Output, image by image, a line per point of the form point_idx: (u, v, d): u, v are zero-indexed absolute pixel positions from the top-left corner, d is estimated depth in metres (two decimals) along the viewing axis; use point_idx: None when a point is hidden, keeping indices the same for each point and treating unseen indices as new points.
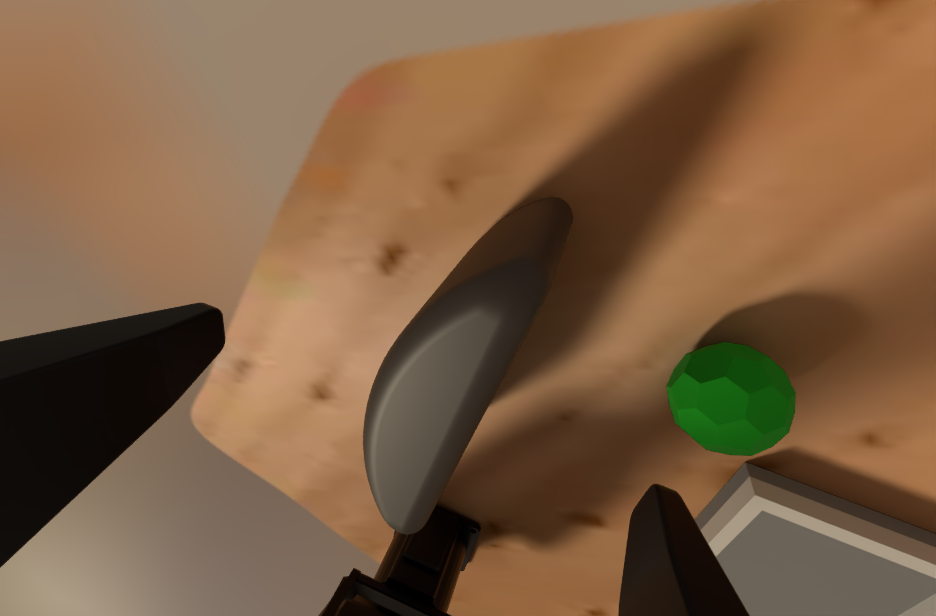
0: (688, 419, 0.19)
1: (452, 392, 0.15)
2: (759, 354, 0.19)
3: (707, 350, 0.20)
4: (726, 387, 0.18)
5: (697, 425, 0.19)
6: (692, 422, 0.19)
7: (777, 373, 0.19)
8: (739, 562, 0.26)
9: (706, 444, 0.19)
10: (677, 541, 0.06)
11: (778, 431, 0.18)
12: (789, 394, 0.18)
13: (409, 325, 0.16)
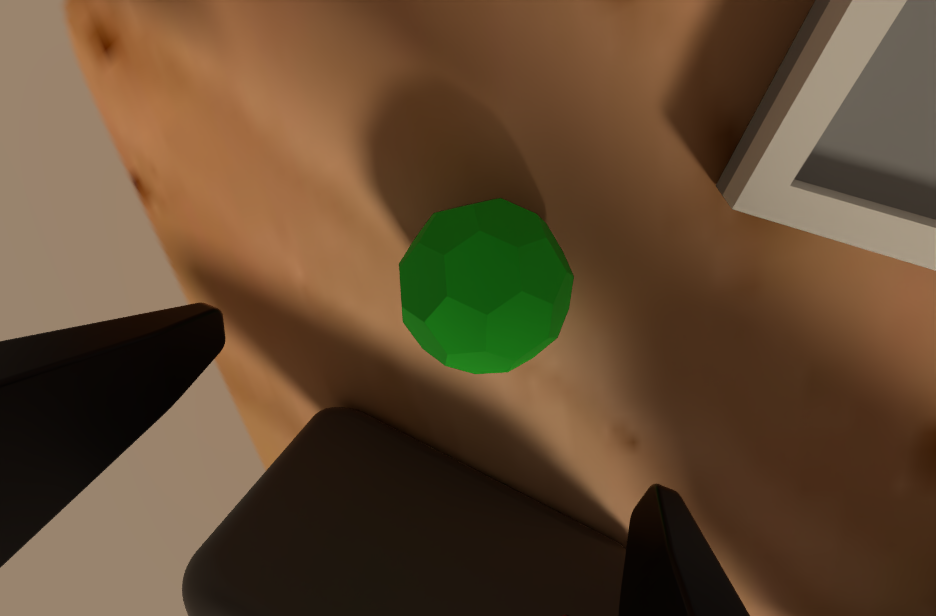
0: (478, 368, 0.12)
1: None
2: None
3: None
4: (410, 325, 0.12)
5: (476, 363, 0.12)
6: (479, 366, 0.12)
7: (418, 236, 0.12)
8: None
9: (506, 356, 0.11)
10: (677, 541, 0.06)
11: (456, 263, 0.11)
12: (426, 230, 0.12)
13: None
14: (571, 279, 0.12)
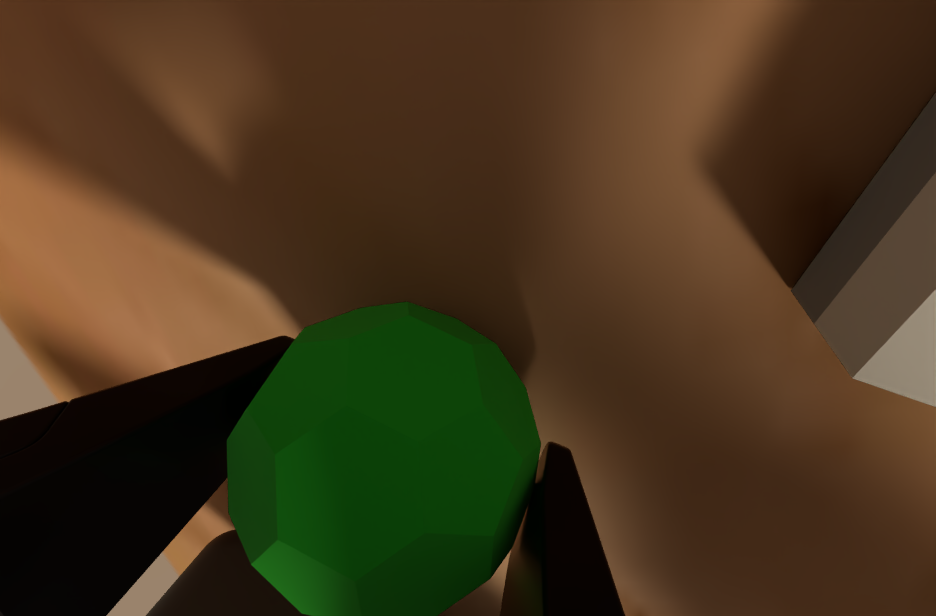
0: None
1: None
2: None
3: None
4: None
5: None
6: None
7: None
8: None
9: None
10: (552, 489, 0.07)
11: (298, 471, 0.05)
12: (269, 379, 0.06)
13: None
14: (536, 452, 0.07)
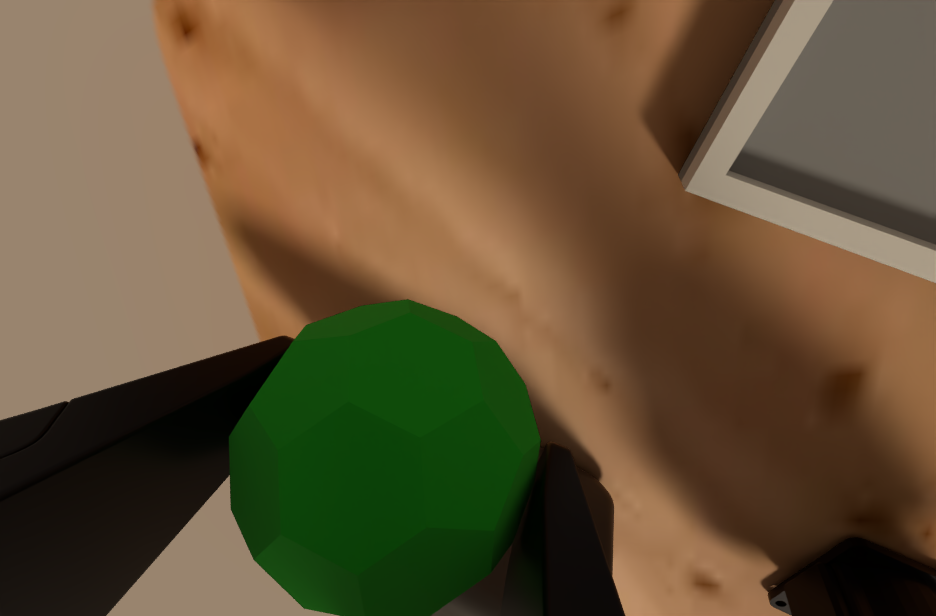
0: None
1: None
2: None
3: None
4: None
5: None
6: None
7: None
8: None
9: (411, 615, 0.06)
10: (552, 489, 0.07)
11: (301, 466, 0.05)
12: (271, 376, 0.06)
13: None
14: (535, 449, 0.07)
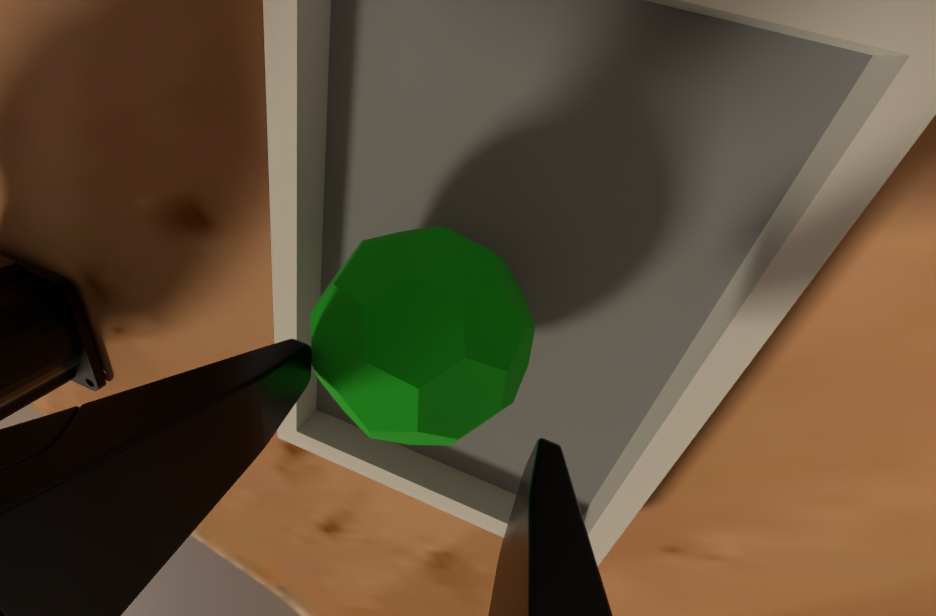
0: (413, 441, 0.10)
1: None
2: None
3: None
4: (325, 386, 0.10)
5: (409, 438, 0.09)
6: (413, 440, 0.09)
7: (339, 270, 0.10)
8: (394, 218, 0.12)
9: (446, 435, 0.09)
10: (541, 484, 0.07)
11: (379, 317, 0.08)
12: (346, 267, 0.09)
13: None
14: (532, 332, 0.10)
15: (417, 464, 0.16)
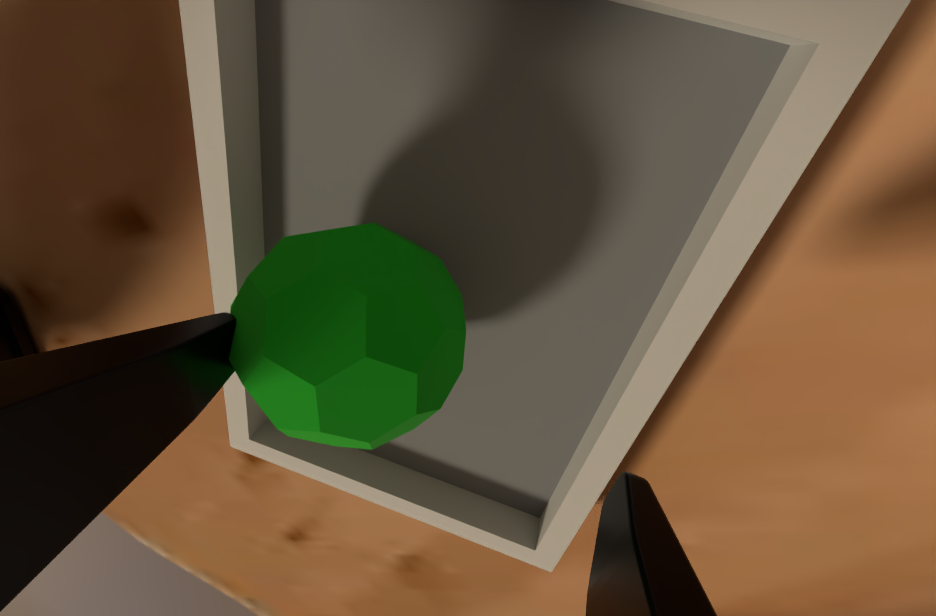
0: (333, 443, 0.09)
1: None
2: None
3: None
4: None
5: (324, 439, 0.09)
6: (331, 441, 0.09)
7: None
8: (336, 216, 0.12)
9: (355, 437, 0.08)
10: (641, 526, 0.07)
11: (282, 310, 0.08)
12: None
13: None
14: (461, 335, 0.09)
15: (375, 468, 0.15)
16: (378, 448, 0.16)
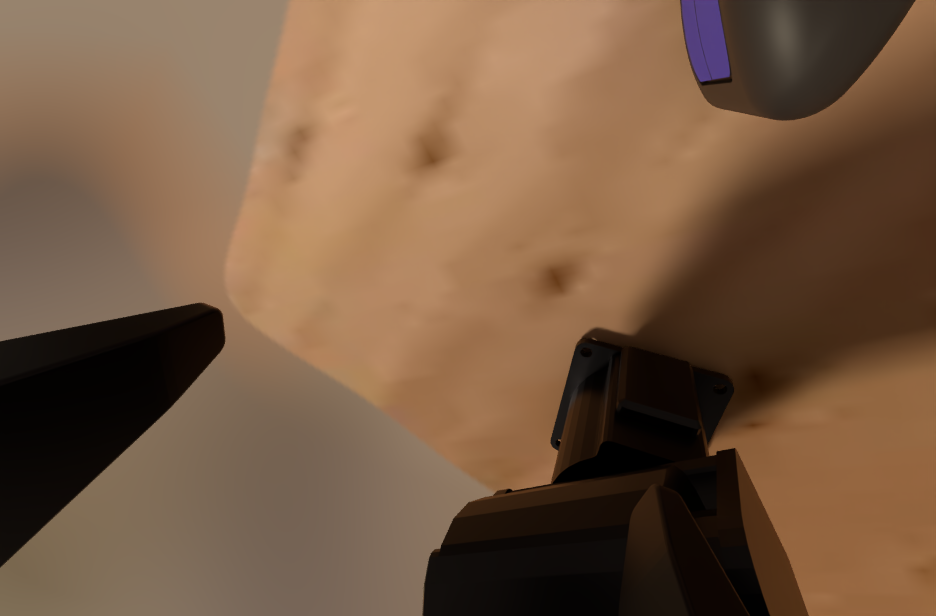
0: None
1: None
2: None
3: None
4: None
5: None
6: None
7: None
8: None
9: None
10: (677, 541, 0.06)
11: None
12: None
13: None
14: None
15: None
16: None
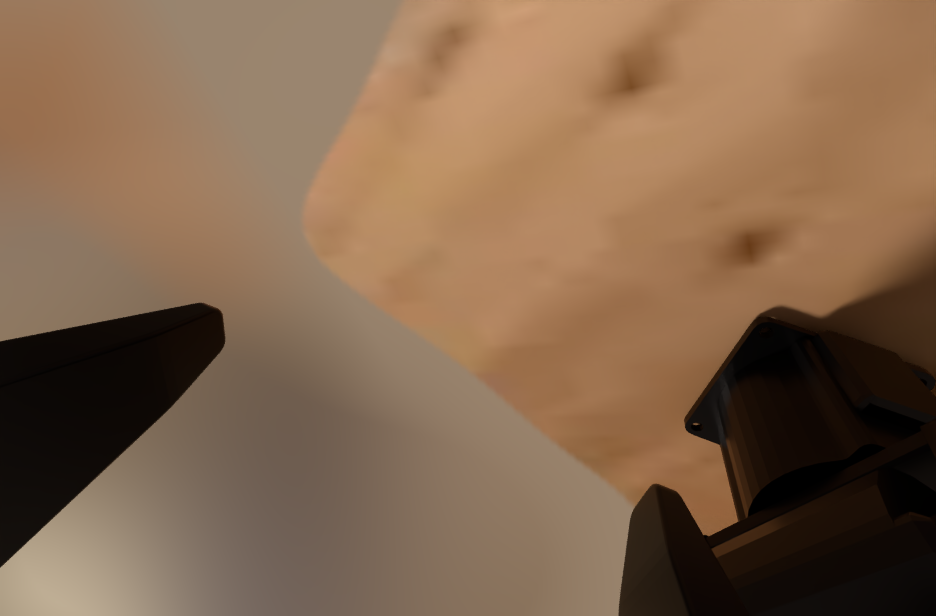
0: None
1: None
2: None
3: None
4: None
5: None
6: None
7: None
8: None
9: None
10: (677, 541, 0.06)
11: None
12: None
13: None
14: None
15: None
16: None
